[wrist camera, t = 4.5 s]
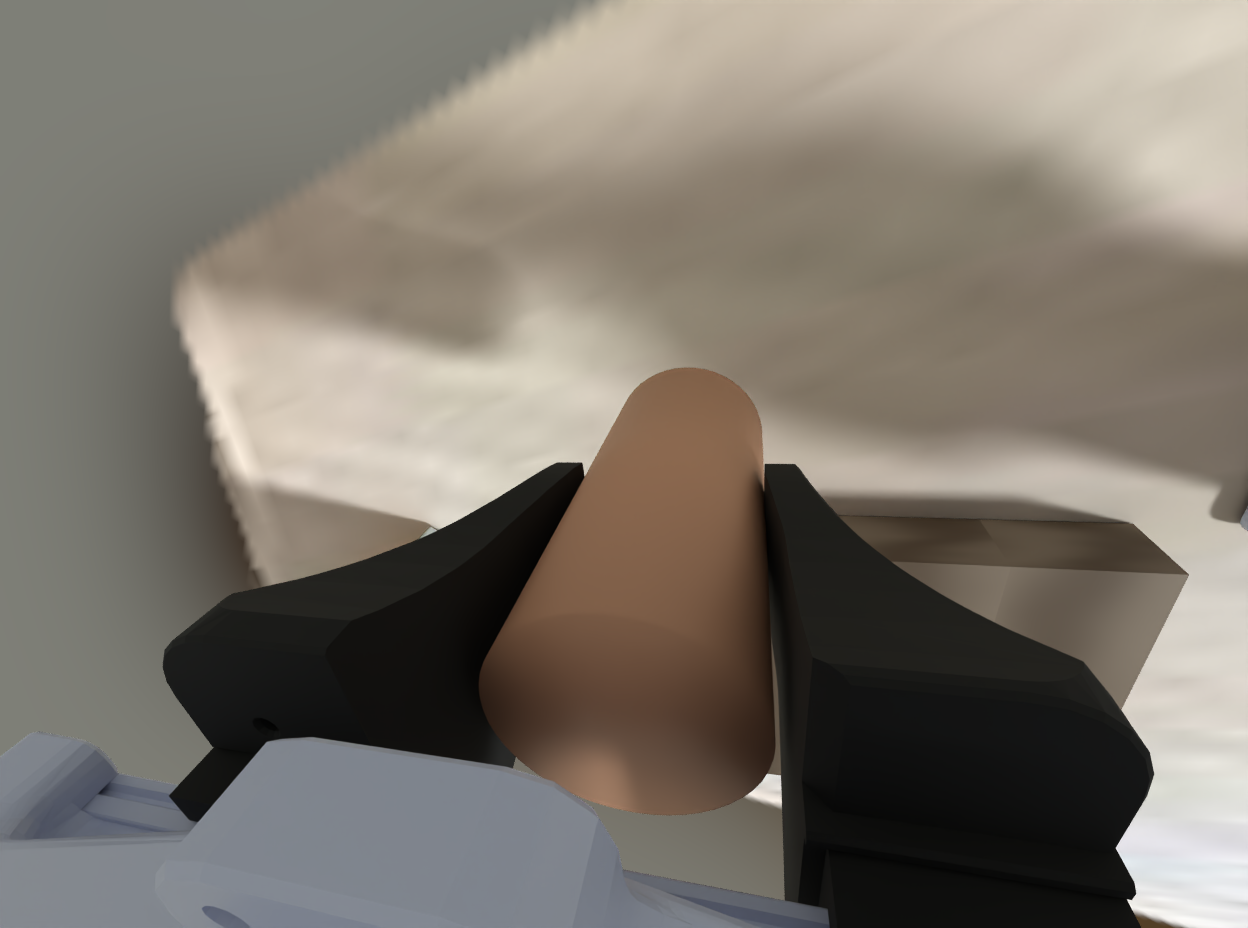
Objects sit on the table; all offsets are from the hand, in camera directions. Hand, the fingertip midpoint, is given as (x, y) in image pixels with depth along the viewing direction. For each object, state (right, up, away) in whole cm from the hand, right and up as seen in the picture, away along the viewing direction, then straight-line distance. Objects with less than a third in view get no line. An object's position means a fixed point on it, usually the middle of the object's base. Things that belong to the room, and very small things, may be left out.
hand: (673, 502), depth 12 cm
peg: (+1, +2, +3) cm, 3 cm away
